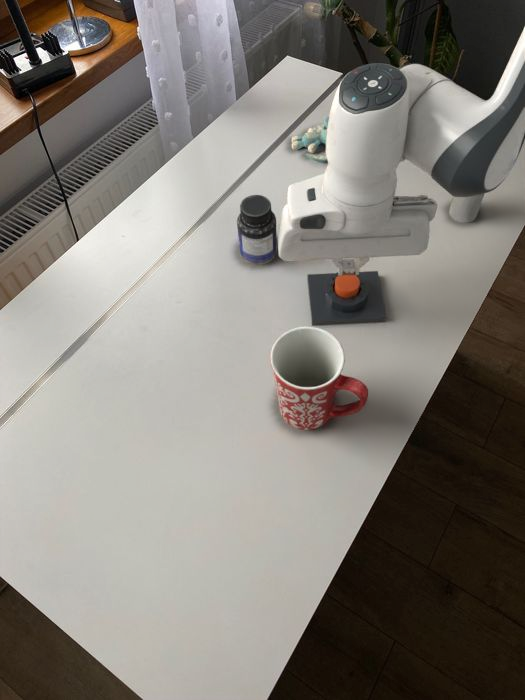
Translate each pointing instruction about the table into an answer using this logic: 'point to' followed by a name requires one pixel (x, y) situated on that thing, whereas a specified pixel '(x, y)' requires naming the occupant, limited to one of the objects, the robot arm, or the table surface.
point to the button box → (345, 300)
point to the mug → (312, 378)
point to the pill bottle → (257, 230)
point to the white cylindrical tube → (465, 208)
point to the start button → (347, 286)
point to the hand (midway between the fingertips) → (347, 272)
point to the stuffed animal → (313, 140)
